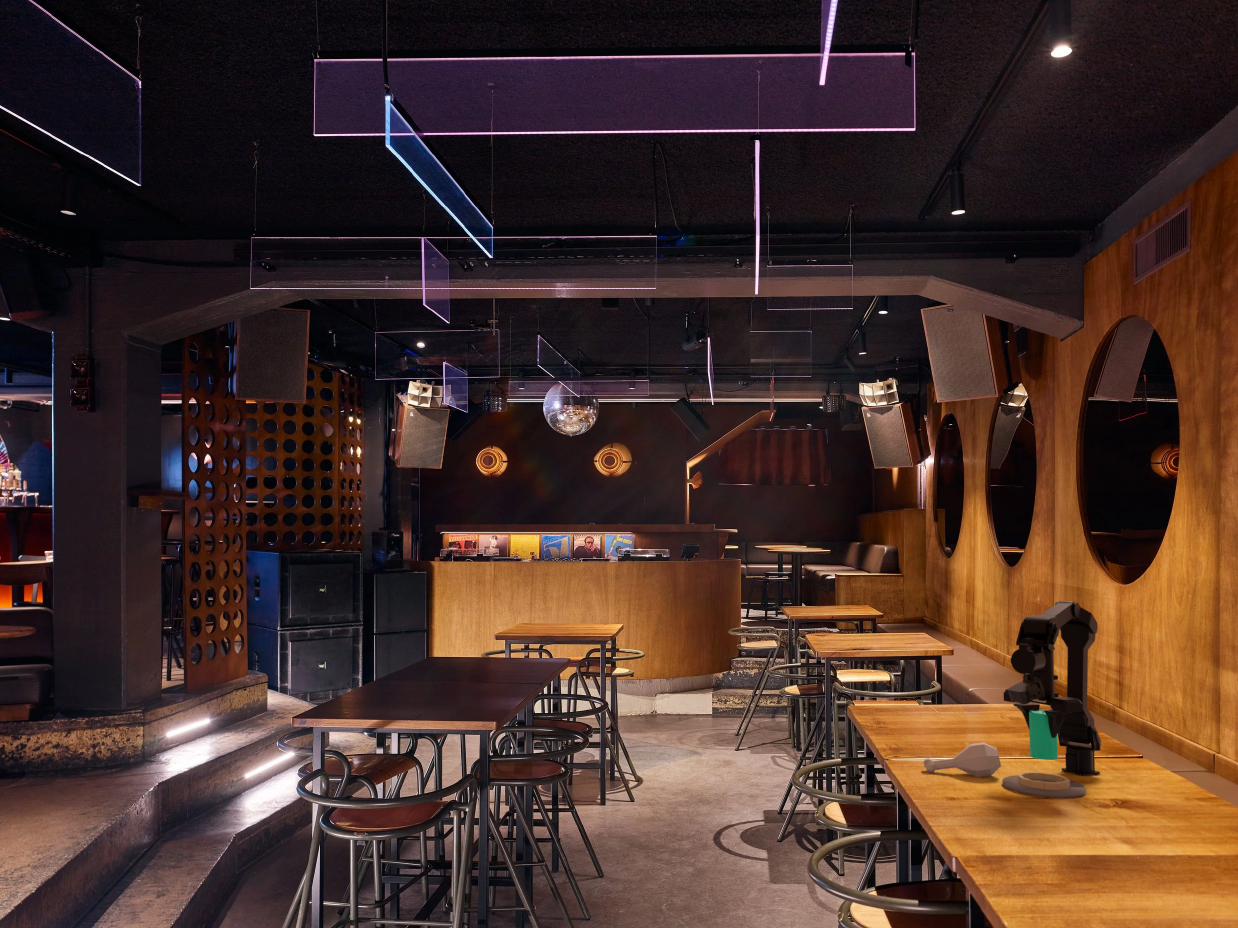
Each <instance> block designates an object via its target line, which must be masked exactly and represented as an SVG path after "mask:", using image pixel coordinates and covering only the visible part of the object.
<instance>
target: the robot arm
mask: <svg viewBox="0 0 1238 928" xmlns="http://www.w3.org/2000/svg"><path fill="white" fill-rule="evenodd" d="M1059 633H1060V639H1062V642H1063V643H1064V645H1065V646H1066V647H1067V663H1066V665H1067V667H1066V672H1067V673H1066V696H1060V697H1059V695H1060V694H1059V692H1055V681H1059V676H1058V675H1057V674H1055V666H1054V661H1055V660H1054V651H1055V650H1056V649H1055V648H1056V647H1055V646H1054V645H1055V644H1056V642H1057V639H1058V636H1059ZM1097 633H1098V621H1097V620H1096V618H1095V617H1094V615H1093V613H1092V612H1090V611H1088V610H1086V609H1085V608H1083V607H1082V606H1081V605H1080V603H1078V602H1076V601H1070V600H1059V601H1056V602H1055V604H1054V605H1053V606H1051V607H1050V608H1048V609H1047V610H1045V611H1044V612H1043V613H1041V614H1035V615H1028V616H1025V617H1024V618H1023V620H1022V622H1021V623H1020V627H1019V630H1018V635H1017V637H1016V642H1015V645H1016V646H1018V649H1016V650H1014V651H1013V653H1012V655H1011V657H1010V664H1011V666H1012V668H1013V670H1014V671H1016V672H1017V673H1019V674H1022V675H1023V676H1022V681H1020V682H1017V683H1015V684H1014V685H1012V686H1010V687H1009V688H1006V689H1005V691H1003V701H1004V702H1009V703H1013V704H1012V705H1013V706H1014V707H1016V708H1017V709H1019V711H1020V712H1021V714H1022V716H1023V717H1024V720H1025V723H1026V725H1027V728H1028V729H1029V712H1030V710H1031V711H1039V710H1040V708H1041V707H1040V705H1043V706H1044V705H1045V706H1049V709H1048V710H1047V709H1046V710H1045V709H1043V710H1044V712H1045V713H1046V715H1047V716H1048V723H1049V729H1050V733H1051V737H1052V738H1056V736H1057V740H1058V743H1059V747H1065V758H1064V759H1065V767H1063V768H1061V771H1063V772H1067V773H1070V774H1074V775H1079V776H1082V777H1083V776H1091V775H1100V774H1101V771H1098V770H1096V769H1095V767H1096V766H1095V764H1096V763H1095V760H1096V759H1095V752H1096V751H1097V752H1098V751H1102V750H1101V747H1102V740H1101V737H1100V735H1099V733H1098V730H1097V729H1096V726H1095V719H1094V717H1093V715H1092V713H1091V712H1090V711H1089V708H1088V681H1089V680H1088V675H1089V674H1088V668H1089V667H1088V666H1089V664H1088V663H1089V660H1088V659H1089V656H1088V655H1089V649H1091V646H1092V645H1093V643H1095V640H1096V634H1097Z"/></svg>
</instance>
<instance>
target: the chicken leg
mask: <svg viewBox="0 0 1238 928" xmlns="http://www.w3.org/2000/svg"><path fill="white" fill-rule="evenodd" d="M922 763H923V765H924V766H923V767H924V768H925V769H926V771H927V772H928V773H929V774H932V773H934V772H935V771H938V770H945V769H946V770H947V769H954V768H956V769H958V770H960V771H963V772H965V773H966V774H969V775H971V776H973V777H975V778H976V777H977V778H985V777H992V776H993V775H994V774H995V773H996V772H997V771H998V770H999V769H1000V768H1001V767H1002V765H1001V760H1000V755H999V751H998V749H997V748H996V747H995V746H992V745H989V744H987V743H986V742H976V743H970V744H969V745H967V746H966V747H965V748H963V749H962V750H961V751H960V752H959V753H958V754H956V755H955V756H954V757H953V758H946V759H937V760H933V759H931V758H930V757H927V758H925V759H924V760H923V762H922Z"/></svg>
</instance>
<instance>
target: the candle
mask: <svg viewBox="0 0 1238 928" xmlns="http://www.w3.org/2000/svg"><path fill="white" fill-rule="evenodd" d="M1044 710H1045V709H1044V704H1041V709H1039V711H1031V710H1030V712H1029V728H1028V730H1029V731H1028V732H1029V756H1030V757H1031V758H1032V759H1036V760H1044V761H1055V760H1058V758H1059V751H1058V750H1059V749H1058V743H1059V742H1058V735H1057V736H1056V738H1052V737H1051V733H1050V729H1049V723H1048V716H1047V715H1046V713H1045V712H1044Z"/></svg>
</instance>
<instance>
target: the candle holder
mask: <svg viewBox="0 0 1238 928" xmlns="http://www.w3.org/2000/svg"><path fill="white" fill-rule="evenodd" d="M1001 782H1002V786H1003V787H1004V788H1005V789H1006V790H1009V791H1011V792H1015V793H1018V794H1022V795H1027V796H1032V797H1037V798H1038V797H1039V798H1048V799H1050V798H1051V799H1075V798H1081V797H1084V796H1086V795H1087V786H1085V785H1084V784H1081V783H1080V782H1077V781H1073V780H1070V779H1069V778H1067V777H1066V776H1064V775H1059V774H1056V773H1048V772H1042V771H1041V772H1039V771H1036V772H1035V771H1027V772H1020V773H1019V774H1015V775H1010V776H1005V777H1003V778H1002V781H1001Z"/></svg>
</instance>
